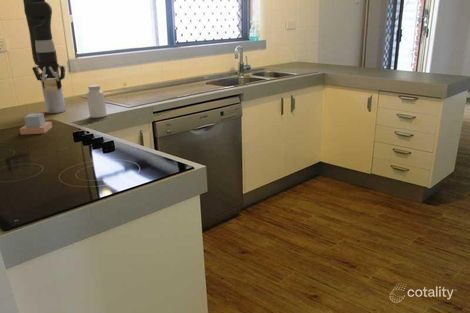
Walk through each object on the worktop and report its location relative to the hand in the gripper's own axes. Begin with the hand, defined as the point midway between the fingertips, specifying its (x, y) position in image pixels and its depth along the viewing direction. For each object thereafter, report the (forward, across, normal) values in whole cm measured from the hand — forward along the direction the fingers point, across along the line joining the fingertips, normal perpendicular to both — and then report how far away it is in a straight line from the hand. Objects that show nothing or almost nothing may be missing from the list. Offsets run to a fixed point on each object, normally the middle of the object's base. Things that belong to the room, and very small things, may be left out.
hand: (52, 89), depth 187 cm
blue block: (+14, +7, +9) cm, 18 cm away
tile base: (+16, +7, +9) cm, 20 cm away
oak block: (+1, 0, 0) cm, 1 cm away
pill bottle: (+17, -15, -12) cm, 25 cm away
